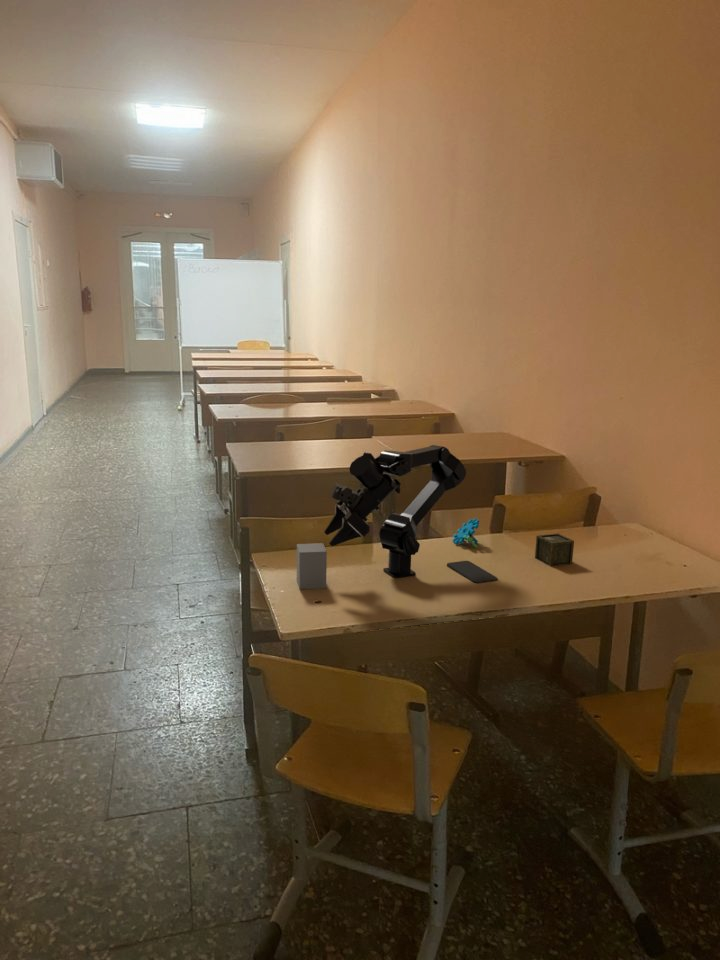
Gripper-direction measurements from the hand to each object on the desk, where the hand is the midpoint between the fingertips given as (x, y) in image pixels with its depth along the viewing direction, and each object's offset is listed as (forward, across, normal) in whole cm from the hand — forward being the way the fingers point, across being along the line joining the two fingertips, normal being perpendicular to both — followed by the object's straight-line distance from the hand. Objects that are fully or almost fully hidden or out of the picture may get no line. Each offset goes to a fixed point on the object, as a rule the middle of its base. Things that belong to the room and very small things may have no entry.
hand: (327, 539), depth 175 cm
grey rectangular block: (+11, 0, +5) cm, 12 cm away
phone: (-19, -3, +36) cm, 41 cm away
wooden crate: (-37, -10, +55) cm, 67 cm away
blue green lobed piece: (-24, -27, +41) cm, 54 cm away
